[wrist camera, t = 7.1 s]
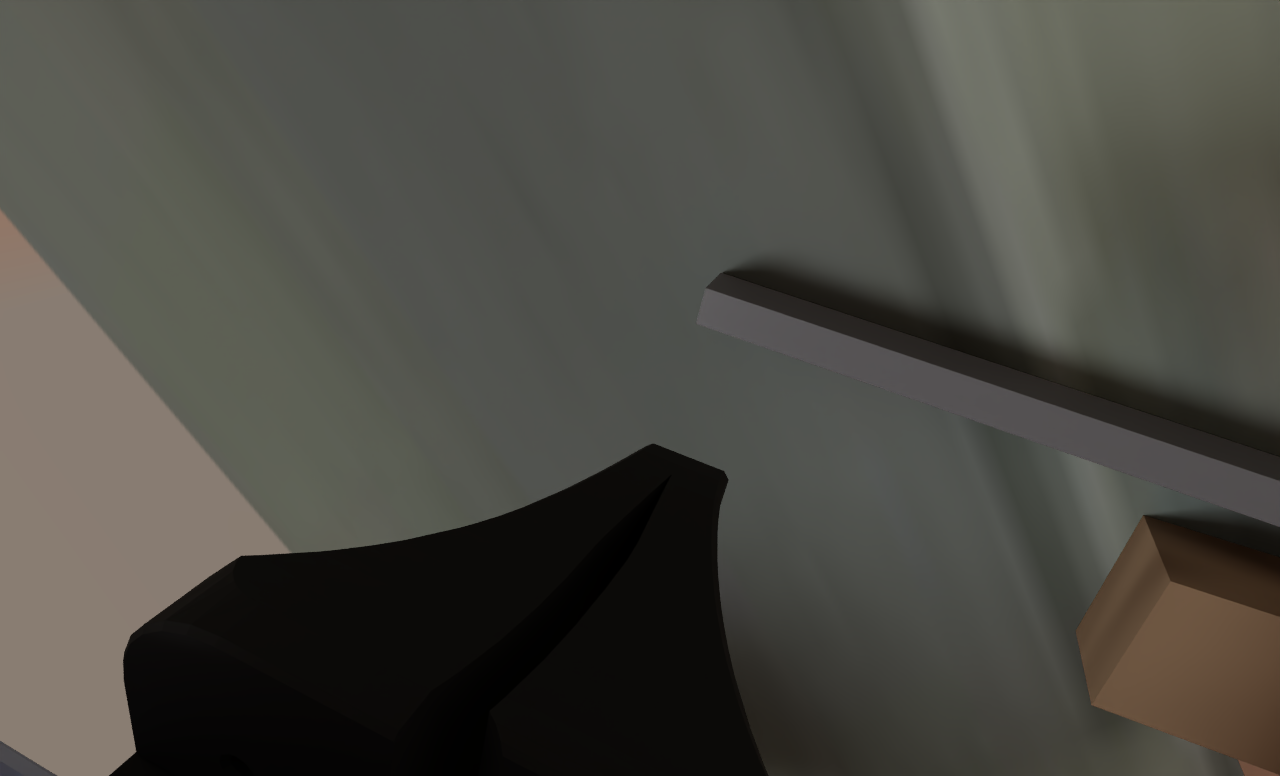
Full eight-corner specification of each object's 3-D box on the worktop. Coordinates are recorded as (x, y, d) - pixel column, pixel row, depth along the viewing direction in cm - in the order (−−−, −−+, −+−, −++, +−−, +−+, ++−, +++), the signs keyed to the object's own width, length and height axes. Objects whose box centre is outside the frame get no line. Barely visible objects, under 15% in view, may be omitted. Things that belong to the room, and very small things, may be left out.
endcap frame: (658, 495, 24) (603, 582, 20) (720, 272, 20) (667, 325, 16) (1429, 809, 19) (1549, 1000, 15) (1689, 592, 16) (1931, 771, 12)
